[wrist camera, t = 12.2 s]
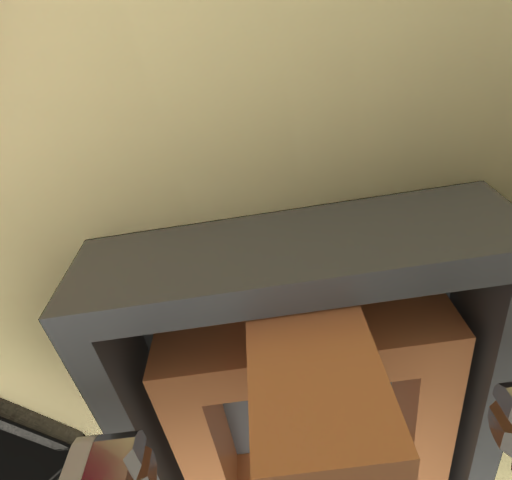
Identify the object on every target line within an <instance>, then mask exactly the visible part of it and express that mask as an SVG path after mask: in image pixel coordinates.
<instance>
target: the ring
mask: <svg viewBox="0 0 512 480" xmlns="http://www.w3.org/2000/svg"><path fill="white" fill-rule="evenodd" d="M475 341H476V337H475V335H474V334H473V332H472V331H471V329H470V328H469V327H468V325H467V324H466V322H465V321H464V319H463V318H462V316H461V315H460V313H459V312H458V310H457V309H456V308H455V306H454V305H453V303H452V302H451V300H450V299H449V297H448V296H447V294H446V293H444V294H436V295H429V296H422V297H415V298H408V299H400V300H393V301H386V302H379V303H372V304H364V305H357V306H350V307H343V308H336V309H328V310H321V311H314V312H307V313H300V314H292V315H285V316H278V317H271V318H264V319H256V320H249V321H242V322H235V323H228V324H221V325H213V326H206V327H199V328H192V329H185V330H177V331H170V332H163V333H156V334H153V338H152V343H151V347H150V351H149V355H148V360H147V364H146V368H145V372H144V377H143V381H142V382H143V384H144V387H145V389H146V391H147V394H148V396H149V398H150V400H151V403H152V405H153V407H154V410H155V412H156V414H157V417H158V419H159V421H160V424H161V426H162V428H163V431H164V433H165V435H166V438H167V440H168V442H169V444H170V447H171V449H172V451H173V454H174V456H175V458H176V461H177V463H178V465H179V468H180V470H181V472H182V475H183V477H184V479H185V480H448V478H449V473H450V468H451V463H452V458H453V453H454V448H455V443H456V438H457V433H458V428H459V422H460V417H461V412H462V407H463V402H464V397H465V392H466V387H467V382H468V377H469V372H470V366H471V361H472V356H473V351H474V346H475ZM390 382H392V386H391V383H390ZM240 401H248V416H249V449H250V453H246V454H238V455H237V452H236V449H235V446H234V442H233V439H232V435H231V432H230V428H229V425H228V421H227V418H226V415H225V411H224V408H223V404H224V403H232V402H240Z"/></svg>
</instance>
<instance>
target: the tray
mask: <svg viewBox="0 0 512 480" xmlns="http://www.w3.org/2000/svg"><path fill="white" fill-rule="evenodd" d="M444 293H446V294H447V296H448V297H449V299H450V300H451V302H452V303H453V305H454V306H455V308H456V309H457V310H458V312H459V313H460V315H461V316H462V318H463V319H464V321H465V322H466V324H467V325H468V327H469V328H470V329H471V331H472V332H473V334H474V335H475V337H476V341H475V346H474V351H473V356H472V361H471V366H470V372H469V377H468V382H467V387H466V392H465V397H464V402H463V407H462V412H461V417H460V422H459V428H458V433H457V438H456V443H455V448H454V453H453V458H452V463H451V468H450V473H449V478H448V480H495V476H496V473H497V470H498V466H499V463H500V460H501V456H502V453H503V451H502V450H500V449H499V447H498V445H497V443H496V442H495V440H494V438H493V435H492V433H491V430H490V428H489V422H488V417H487V415H488V410H489V406H490V405H491V404H492V403H494V402H495V401H496V399H495V398H494V396H493V394H492V392H493V389H494V386H495V385H497V384H498V383H504V382H511V381H512V203H511V202H509V201H508V200H507V199H506V198H504V197H503V196H502V195H501V194H499V193H498V192H497V191H495V190H494V189H493V188H492V187H490V186H489V185H488V184H487V183H485V182H484V181H479V182H473V183H466V184H459V185H453V186H446V187H439V188H433V189H426V190H419V191H412V192H406V193H399V194H392V195H386V196H379V197H372V198H366V199H359V200H352V201H345V202H339V203H332V204H325V205H319V206H312V207H305V208H299V209H292V210H285V211H278V212H272V213H265V214H258V215H252V216H245V217H238V218H232V219H225V220H218V221H212V222H205V223H198V224H191V225H185V226H178V227H171V228H165V229H158V230H151V231H145V232H138V233H131V234H124V235H118V236H111V237H104V238H98V239H91V240H85V241H84V243H83V245H82V247H81V248H80V250H79V252H78V253H77V255H76V257H75V258H74V260H73V262H72V263H71V265H70V267H69V269H68V270H67V272H66V274H65V275H64V277H63V279H62V280H61V282H60V284H59V285H58V287H57V289H56V291H55V292H54V294H53V296H52V297H51V299H50V301H49V302H48V304H47V306H46V307H45V309H44V311H43V313H42V314H41V316H40V318H39V319H38V320H39V322H40V324H41V325H42V327H43V329H44V331H45V332H46V334H47V336H48V338H49V339H50V341H51V343H52V345H53V346H54V348H55V350H56V352H57V353H58V355H59V357H60V359H61V360H62V362H63V364H64V366H65V367H66V369H67V371H68V373H69V374H70V376H71V378H72V380H73V381H74V383H75V385H76V387H77V388H78V390H79V392H80V394H81V395H82V397H83V399H84V401H85V402H86V404H87V406H88V408H89V409H90V411H91V413H92V415H93V416H94V418H95V420H96V422H97V423H98V425H99V427H100V429H101V430H102V432H103V434H110V433H119V432H127V431H136V430H143V432H144V434H145V436H146V437H147V439H146V446H147V447H149V448H151V449H152V450H153V452H154V454H155V458H156V463H157V480H185V479H184V477H183V475H182V472H181V470H180V468H179V465H178V463H177V461H176V458H175V456H174V454H173V451H172V449H171V447H170V444H169V442H168V440H167V438H166V435H165V433H164V431H163V428H162V426H161V424H160V421H159V419H158V417H157V414H156V412H155V410H154V407H153V405H152V403H151V400H150V398H149V396H148V394H147V391H146V389H145V387H144V384H143V382H142V381H143V377H144V372H145V368H146V364H147V360H148V355H149V351H150V347H151V343H152V338H153V334H156V333H163V332H170V331H177V330H185V329H192V328H199V327H206V326H213V325H221V324H228V323H235V322H242V321H249V320H256V319H264V318H271V317H278V316H285V315H292V314H300V313H307V312H314V311H321V310H328V309H336V308H343V307H350V306H357V305H364V304H372V303H379V302H386V301H393V300H400V299H408V298H415V297H422V296H429V295H436V294H444ZM390 383H391V386H392V382H390ZM223 408H224V411H225V415H226V418H227V421H228V425H229V428H230V432H231V435H232V439H233V442H234V446H235V449H236V452H237V455H238V454H246V453H250V449H249V416H248V401H240V402H232V403H224V404H223Z"/></svg>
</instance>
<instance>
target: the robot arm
mask: <svg viewBox="0 0 512 480" xmlns="http://www.w3.org/2000/svg"><path fill="white" fill-rule="evenodd" d="M492 394H493V396H494V398H495V399H496V401H495V402H494V403H492V404H491V405H490V406H489V410H488V415H487V417H488V422H489V428H490V430H491V433H492V435H493V438H494V440H495V442H496V443H497V445H498V447H499V449H500V450H502V451H503V452H504V453H506V454H507V455H509V456H510V457H512V381H511V382H504V383H498V384H497V385H495V386H494V389H493V392H492ZM146 439H147V437H146V436H145V434H144V432H143V430H136V431H127V432H119V433H110V434H102V435H91V436H84V437H77V438H76V439H75V441H74V442H73V443H72V445H71V447H70V449H69V452H68V455H67V458H66V460H65V463H64V466H63V469H62V471H61V474H60V477H59V480H157V463H156V458H155V454H154V452H153V450H152V449H151V448H149V447H147V446H146ZM511 470H512V465H511Z"/></svg>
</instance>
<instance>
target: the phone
mask: <svg viewBox="0 0 512 480" xmlns="http://www.w3.org/2000/svg"><path fill="white" fill-rule="evenodd" d="M84 436H85V435H84V434H83V433H82V432H80V431H78V430H76V429H74V428H72V427H69V426H67V425H64V424H62V423H60V422H57V421H55V420H52V419H50V418H48V417H45V416H43V415H41V414H38V413H36V412H33V411H31V410H29V409H26V408H24V407H21V406H19V405H17V404H14V403H12V402H9V401H7V400H5V399H2V398H0V480H59V477H60V474H61V471H62V469H63V466H64V463H65V460H66V458H67V455H68V452H69V449H70V447H71V445H72V443H73V442H74V441H75V439H76V438H77V437H84Z"/></svg>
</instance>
